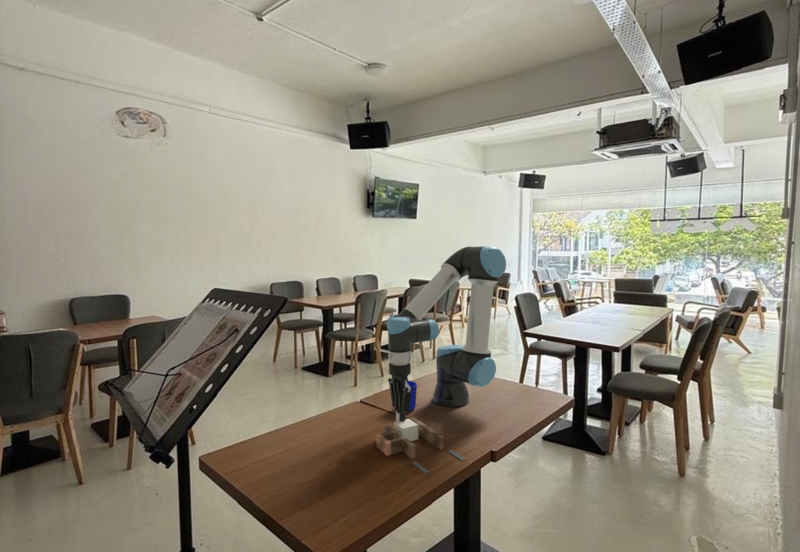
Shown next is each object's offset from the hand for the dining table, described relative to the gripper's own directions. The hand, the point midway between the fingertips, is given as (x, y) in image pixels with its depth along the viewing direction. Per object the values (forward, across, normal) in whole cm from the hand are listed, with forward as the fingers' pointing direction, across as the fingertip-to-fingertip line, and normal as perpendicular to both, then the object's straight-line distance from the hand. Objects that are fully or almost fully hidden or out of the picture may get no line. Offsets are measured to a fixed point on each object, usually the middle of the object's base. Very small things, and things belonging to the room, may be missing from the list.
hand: (400, 429), depth 150 cm
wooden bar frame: (+2, +8, -3) cm, 8 cm away
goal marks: (+2, +23, 0) cm, 23 cm away
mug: (+2, -20, +15) cm, 25 cm away
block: (+2, +4, 0) cm, 4 cm away
